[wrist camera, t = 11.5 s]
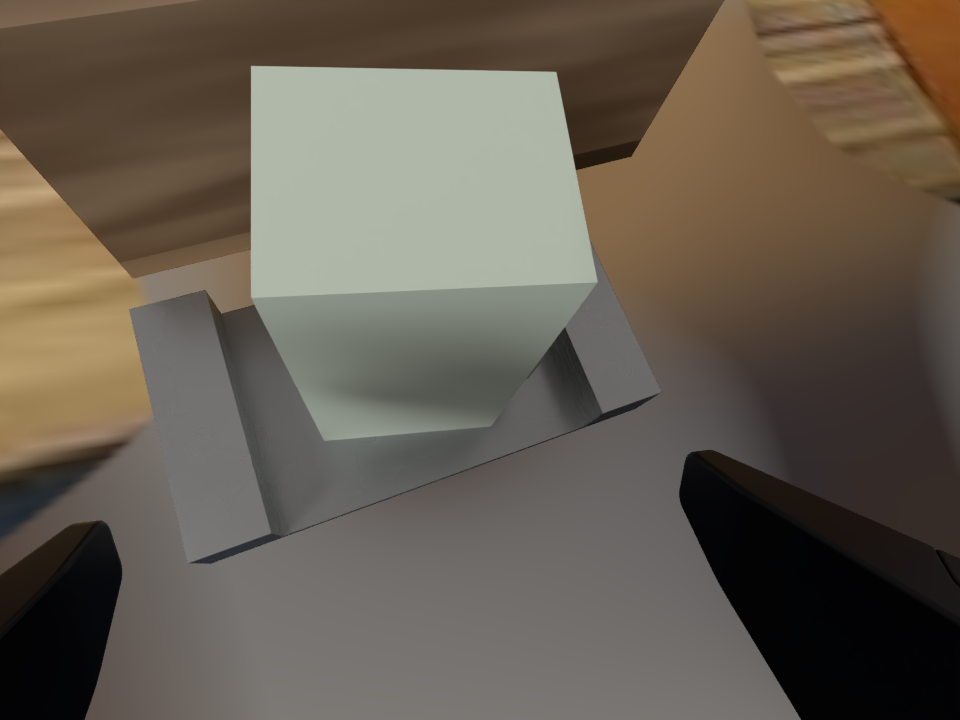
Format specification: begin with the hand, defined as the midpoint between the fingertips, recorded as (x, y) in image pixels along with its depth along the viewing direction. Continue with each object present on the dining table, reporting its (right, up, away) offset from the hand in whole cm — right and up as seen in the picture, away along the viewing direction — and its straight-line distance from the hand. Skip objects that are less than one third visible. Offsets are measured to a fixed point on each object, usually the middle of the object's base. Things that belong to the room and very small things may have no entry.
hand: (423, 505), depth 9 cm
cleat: (-1, +2, +9) cm, 10 cm away
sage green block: (-1, +2, +9) cm, 10 cm away
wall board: (-2, +8, +12) cm, 14 cm away
